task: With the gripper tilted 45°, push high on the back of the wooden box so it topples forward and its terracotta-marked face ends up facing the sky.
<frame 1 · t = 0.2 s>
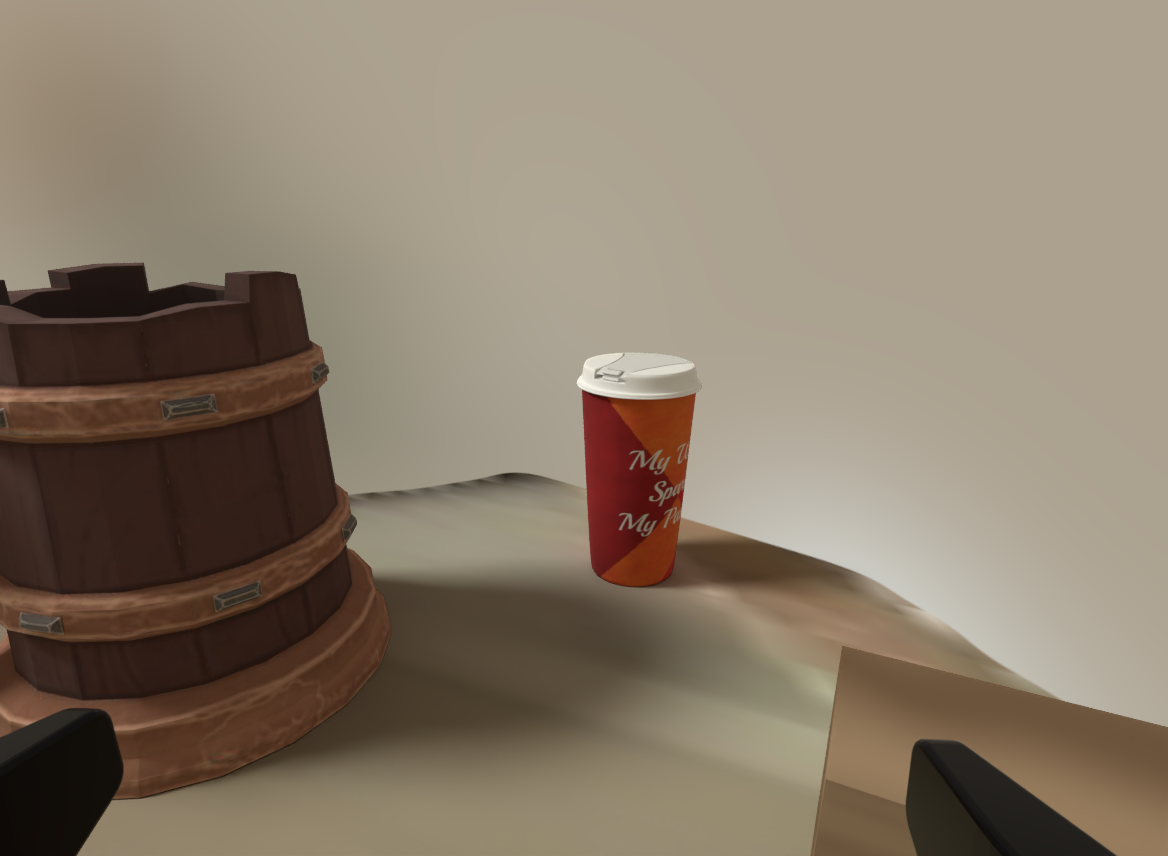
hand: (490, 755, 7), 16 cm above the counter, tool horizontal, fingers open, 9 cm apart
mug: (164, 671, 33), on the counter
paper cup: (632, 567, 44), on the counter
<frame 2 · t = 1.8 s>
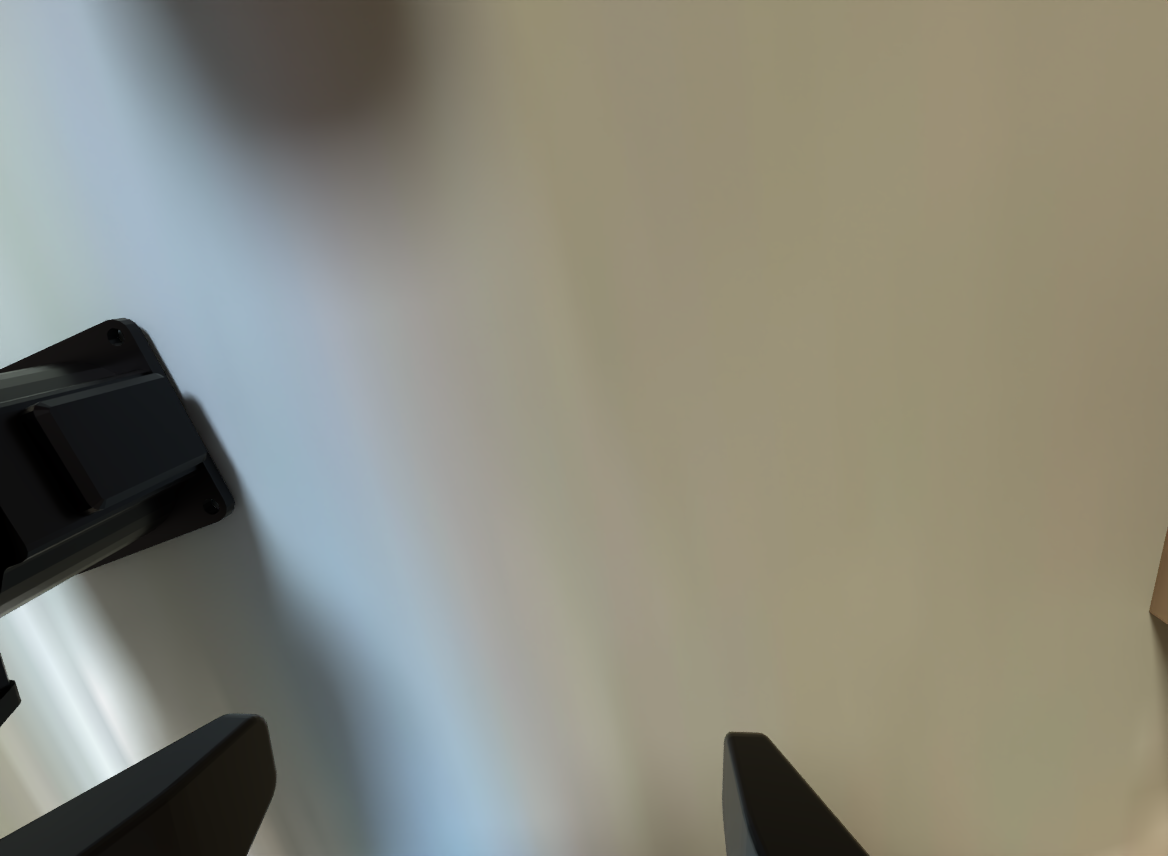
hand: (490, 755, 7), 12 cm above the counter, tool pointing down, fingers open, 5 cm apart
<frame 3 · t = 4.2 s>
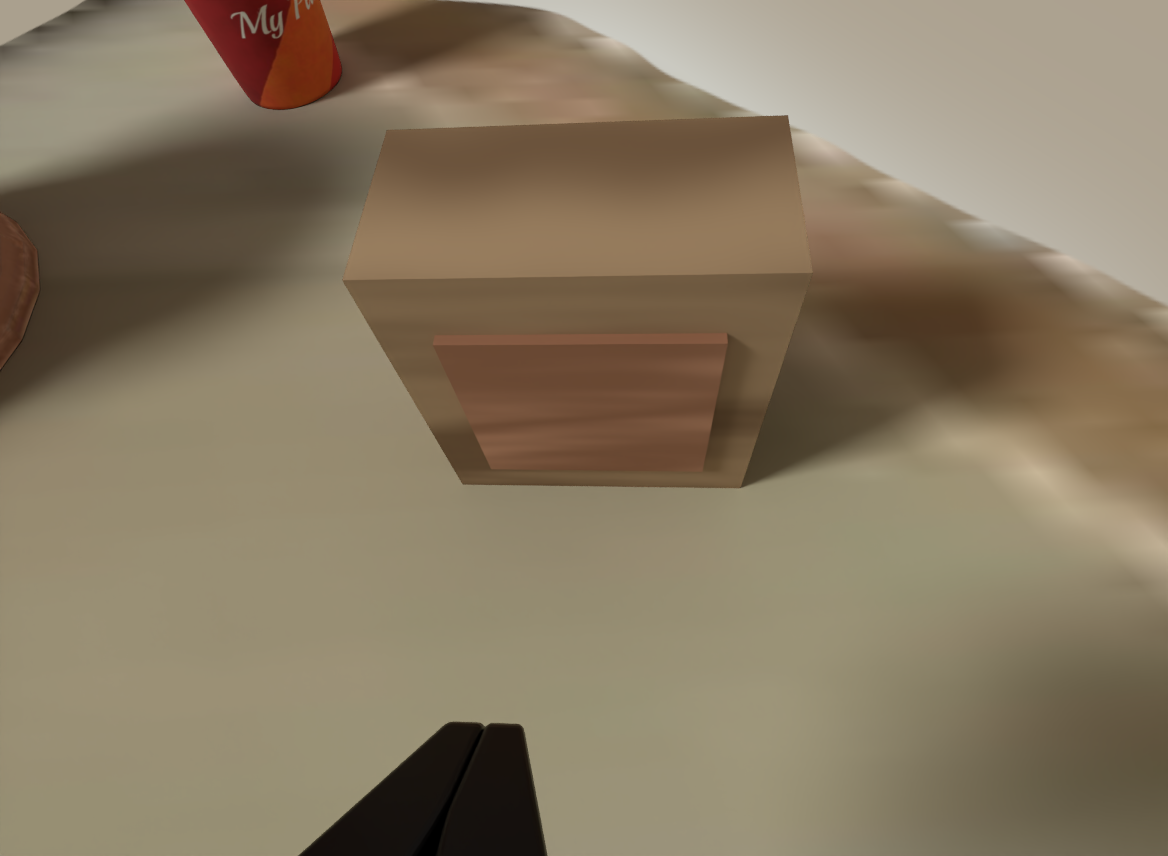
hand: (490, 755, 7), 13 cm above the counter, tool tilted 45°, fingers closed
paper cup: (296, 81, 37), on the counter
wooden box: (601, 425, 24), on the counter
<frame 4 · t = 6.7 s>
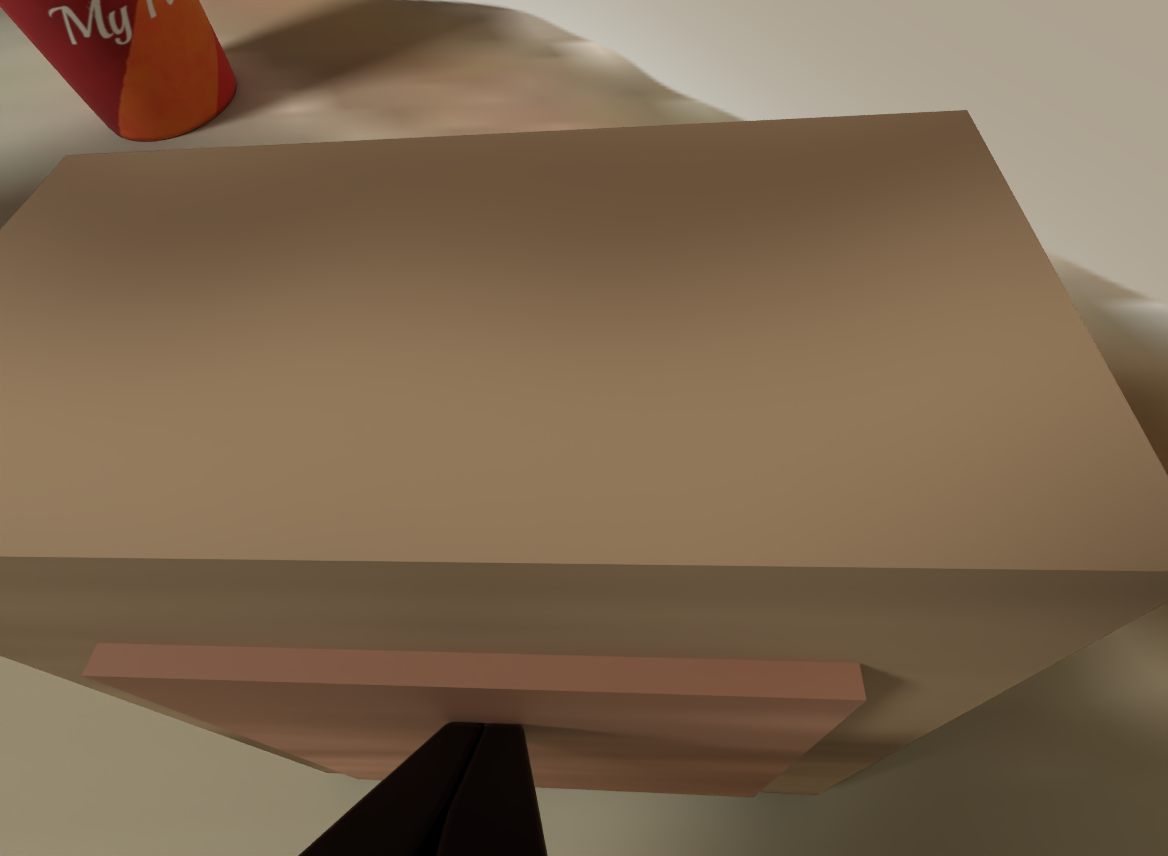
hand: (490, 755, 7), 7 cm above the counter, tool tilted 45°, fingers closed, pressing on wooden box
paper cup: (176, 103, 28), on the counter
wooden box: (570, 657, 15), on the counter, tilted 5°, touching gripper
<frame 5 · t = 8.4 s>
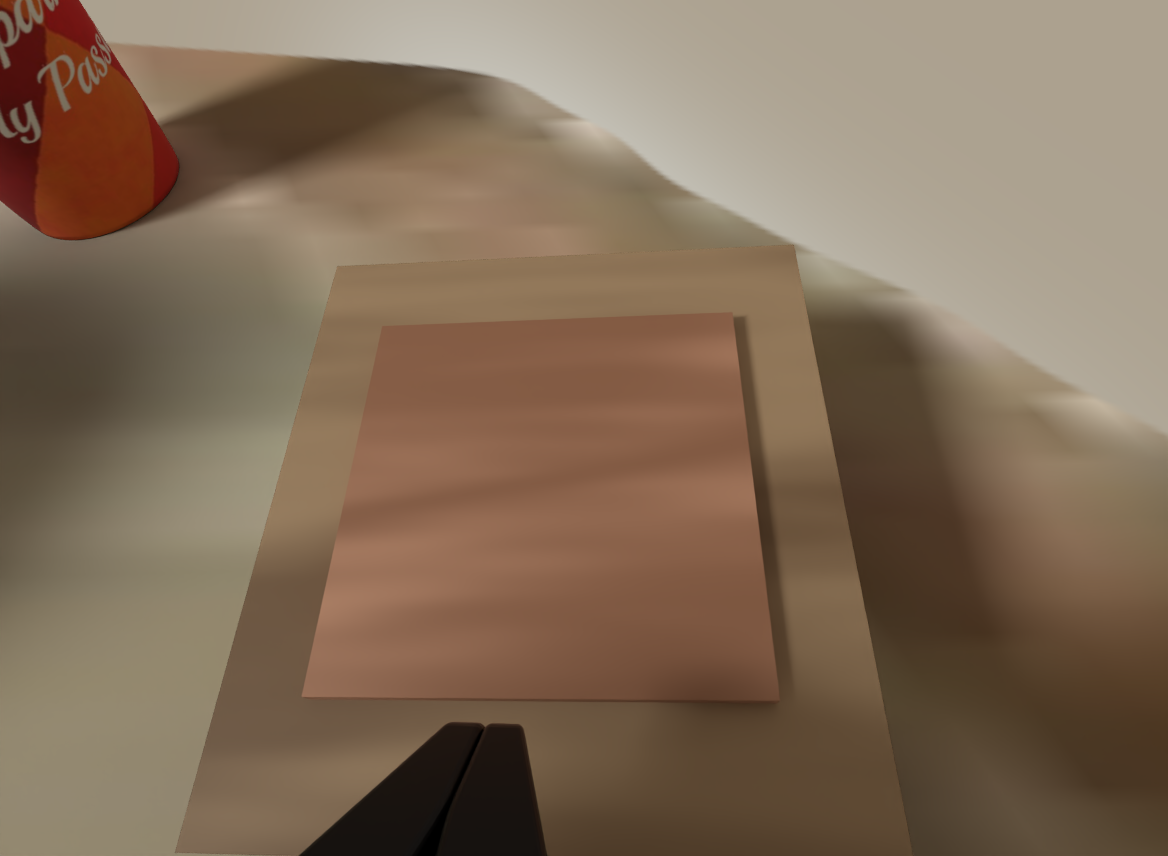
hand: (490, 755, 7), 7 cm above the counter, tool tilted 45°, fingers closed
paper cup: (110, 190, 24), on the counter
wooden box: (552, 849, 11), point 2 cm above the counter, tilted 90°
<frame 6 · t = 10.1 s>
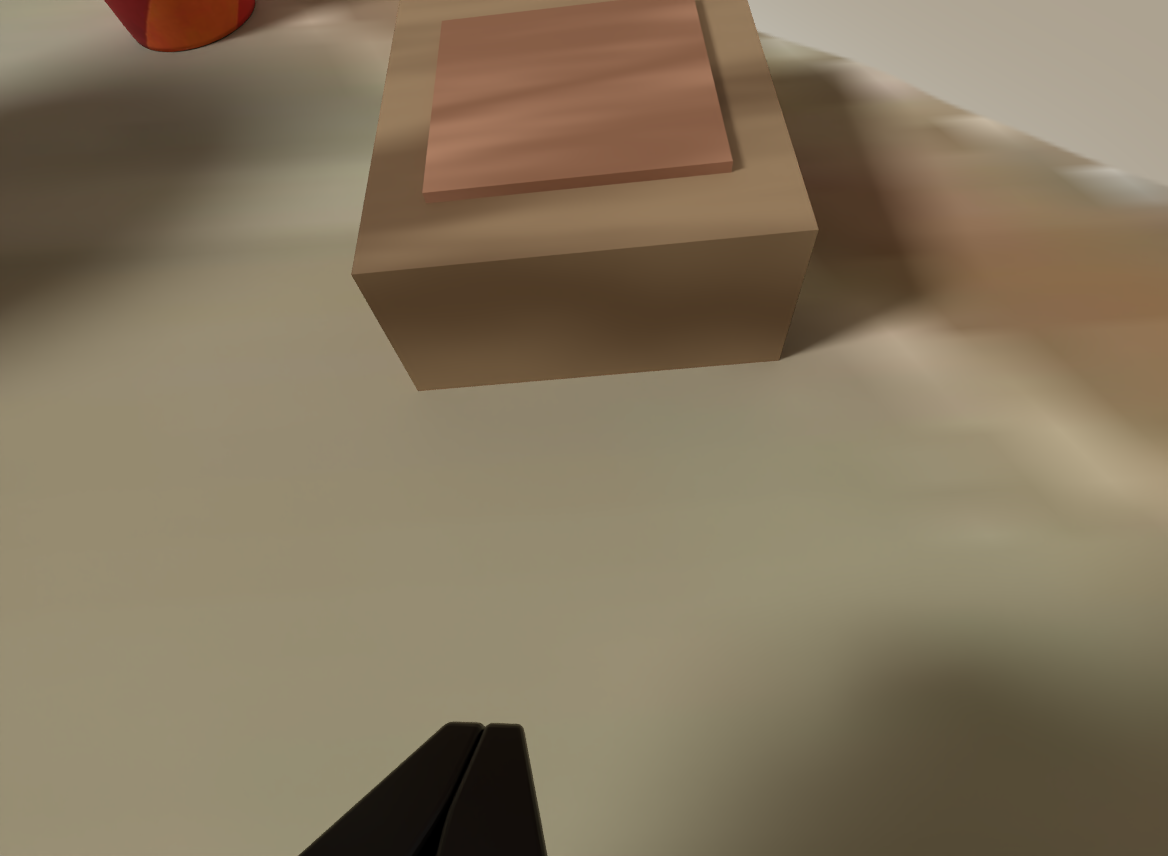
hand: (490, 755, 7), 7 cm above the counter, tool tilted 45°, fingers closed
paper cup: (198, 19, 29), on the counter
wooden box: (589, 325, 16), point 2 cm above the counter, tilted 90°
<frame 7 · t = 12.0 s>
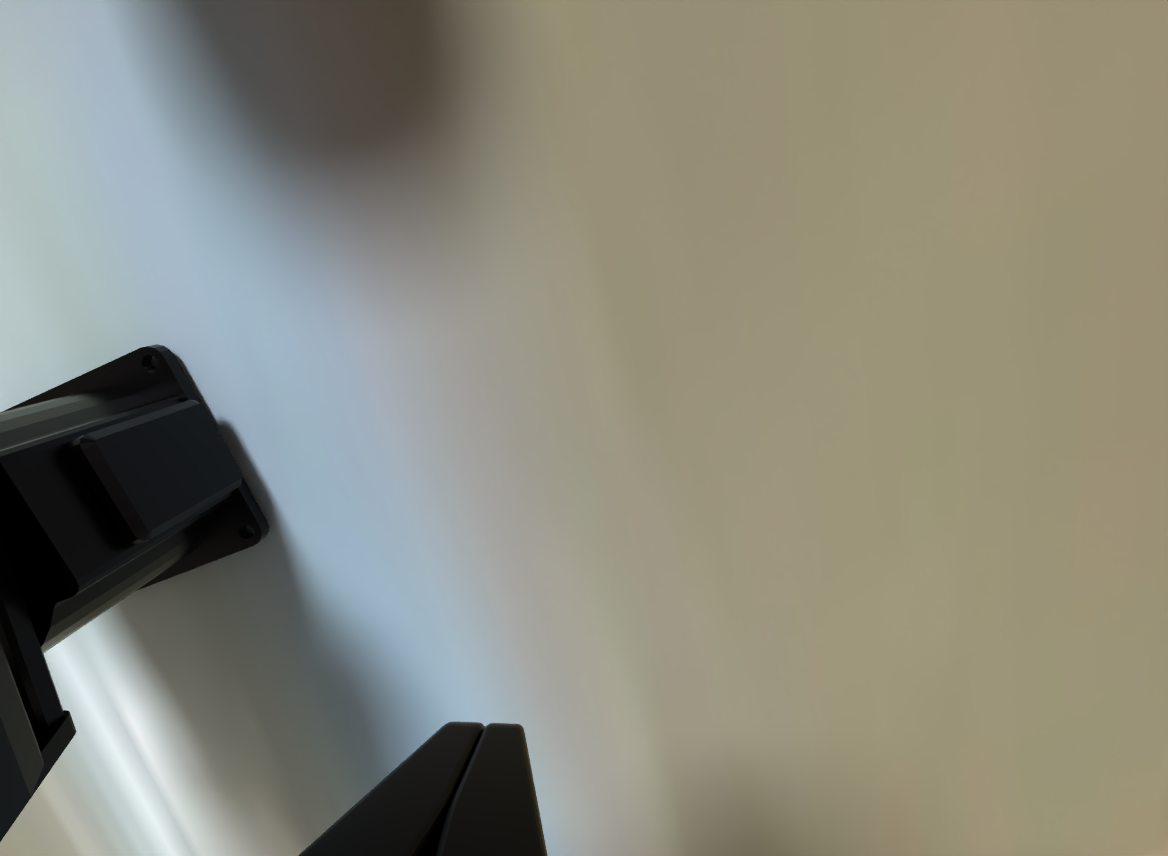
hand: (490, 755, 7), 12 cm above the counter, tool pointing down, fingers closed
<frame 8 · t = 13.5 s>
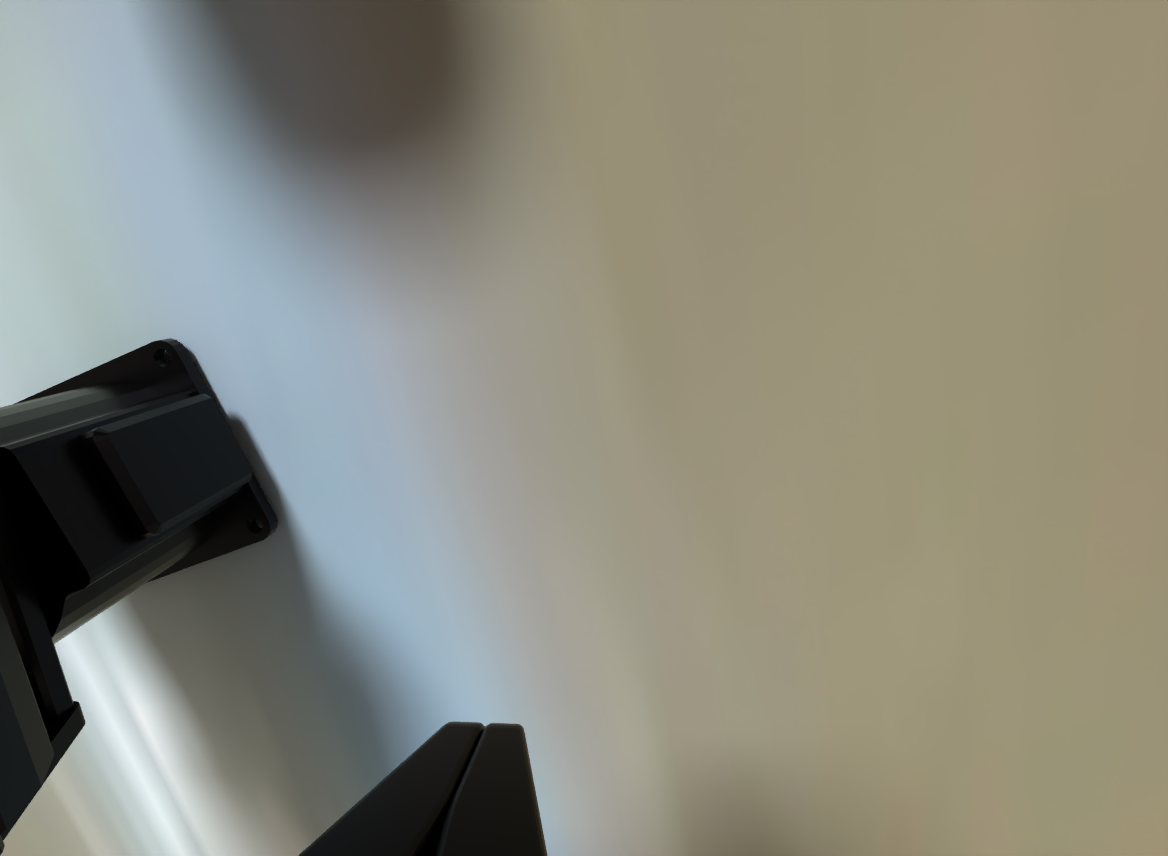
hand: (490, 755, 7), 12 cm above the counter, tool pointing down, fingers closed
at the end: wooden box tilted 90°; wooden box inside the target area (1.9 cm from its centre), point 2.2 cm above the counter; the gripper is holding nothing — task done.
